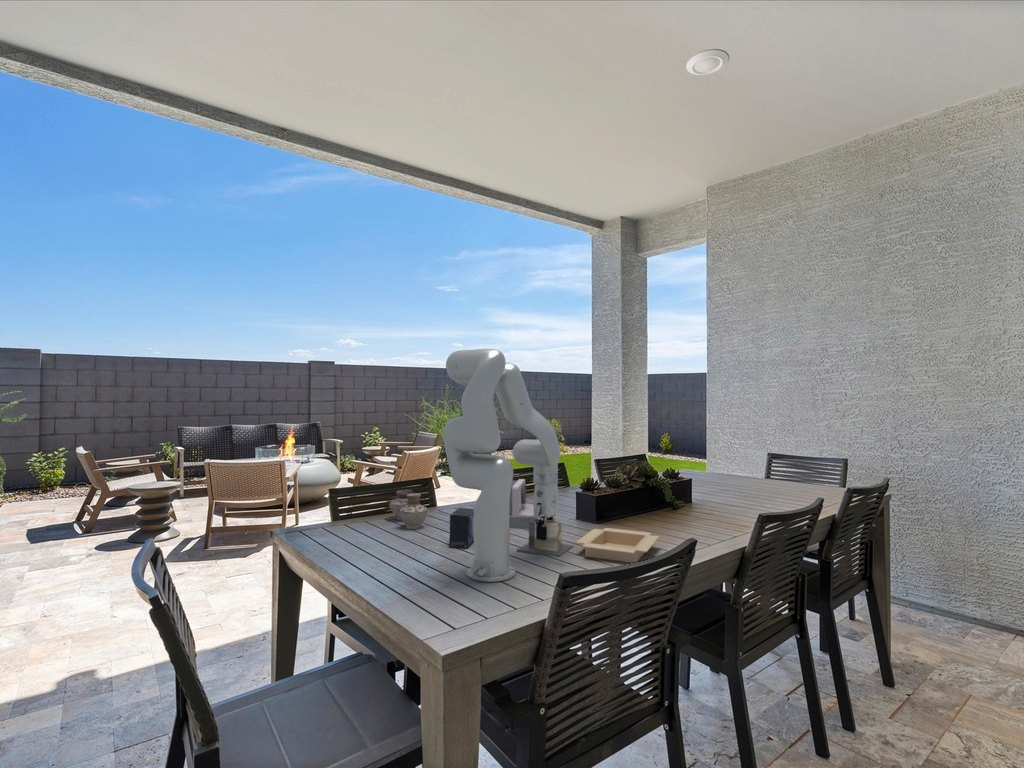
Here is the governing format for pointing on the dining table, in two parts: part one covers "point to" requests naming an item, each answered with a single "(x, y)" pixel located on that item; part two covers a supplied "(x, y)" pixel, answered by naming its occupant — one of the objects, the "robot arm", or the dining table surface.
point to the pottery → (408, 509)
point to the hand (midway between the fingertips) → (545, 536)
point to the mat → (545, 552)
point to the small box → (461, 528)
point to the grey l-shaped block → (519, 506)
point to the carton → (617, 544)
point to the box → (552, 539)
